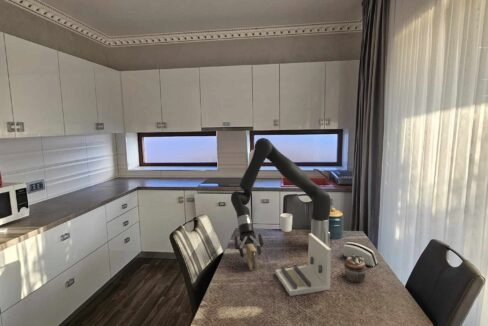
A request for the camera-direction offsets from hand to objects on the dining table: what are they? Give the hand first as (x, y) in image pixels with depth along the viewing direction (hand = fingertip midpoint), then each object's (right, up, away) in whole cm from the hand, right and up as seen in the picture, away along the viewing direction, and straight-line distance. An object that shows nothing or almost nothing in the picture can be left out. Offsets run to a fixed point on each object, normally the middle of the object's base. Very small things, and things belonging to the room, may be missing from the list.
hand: (251, 255), depth 145 cm
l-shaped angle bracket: (+22, -7, -14) cm, 27 cm away
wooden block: (0, -5, 0) cm, 5 cm away
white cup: (+24, +2, +47) cm, 53 cm away
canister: (+51, +1, +37) cm, 63 cm away
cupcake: (+47, -6, -11) cm, 49 cm away
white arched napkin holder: (+55, -4, +5) cm, 55 cm away
